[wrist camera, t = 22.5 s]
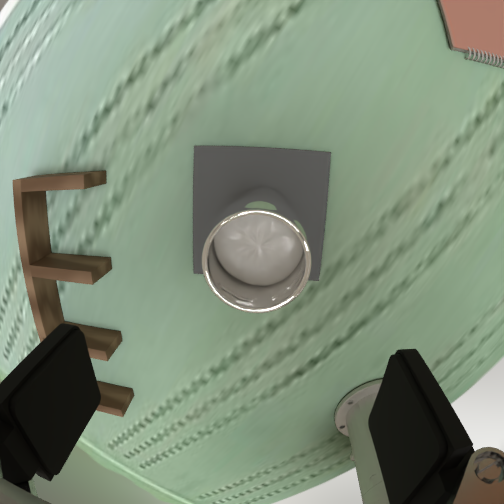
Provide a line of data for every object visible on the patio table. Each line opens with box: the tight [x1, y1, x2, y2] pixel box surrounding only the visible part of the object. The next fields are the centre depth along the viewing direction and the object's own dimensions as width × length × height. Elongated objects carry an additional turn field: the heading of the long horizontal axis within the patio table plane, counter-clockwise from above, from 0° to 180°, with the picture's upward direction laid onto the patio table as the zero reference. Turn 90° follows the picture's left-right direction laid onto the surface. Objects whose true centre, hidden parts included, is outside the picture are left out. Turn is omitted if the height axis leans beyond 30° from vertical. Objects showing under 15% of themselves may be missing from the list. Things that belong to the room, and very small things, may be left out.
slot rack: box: [13, 171, 134, 417], centre depth 36 cm, size 33×11×5 cm, turn 178°
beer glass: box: [202, 187, 311, 313], centre depth 26 cm, size 7×7×15 cm
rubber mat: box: [193, 146, 331, 281], centre depth 33 cm, size 14×14×1 cm
